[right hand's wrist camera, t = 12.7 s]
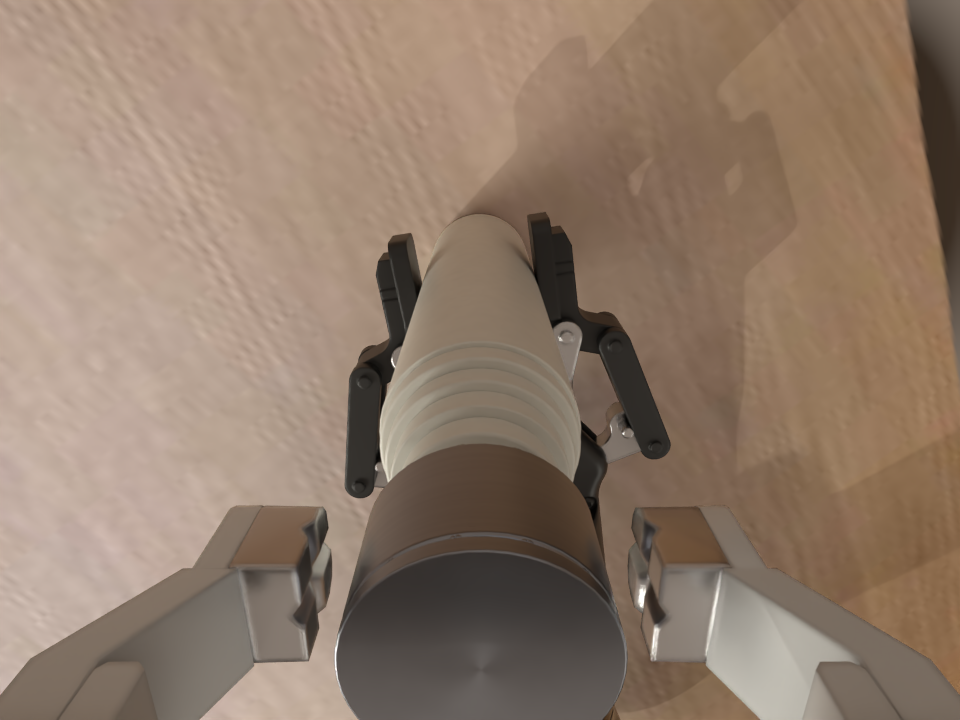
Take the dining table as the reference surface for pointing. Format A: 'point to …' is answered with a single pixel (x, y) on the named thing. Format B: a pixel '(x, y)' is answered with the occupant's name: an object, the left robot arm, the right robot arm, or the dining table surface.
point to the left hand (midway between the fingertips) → (467, 229)
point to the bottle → (480, 357)
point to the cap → (480, 596)
